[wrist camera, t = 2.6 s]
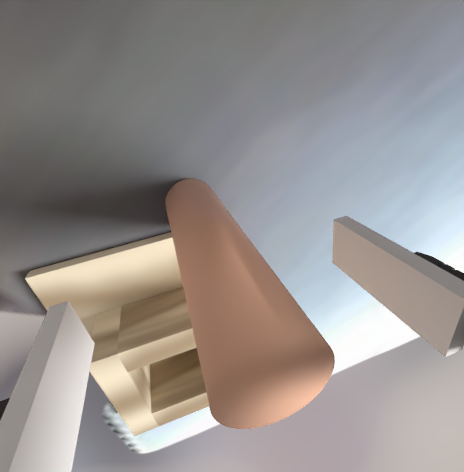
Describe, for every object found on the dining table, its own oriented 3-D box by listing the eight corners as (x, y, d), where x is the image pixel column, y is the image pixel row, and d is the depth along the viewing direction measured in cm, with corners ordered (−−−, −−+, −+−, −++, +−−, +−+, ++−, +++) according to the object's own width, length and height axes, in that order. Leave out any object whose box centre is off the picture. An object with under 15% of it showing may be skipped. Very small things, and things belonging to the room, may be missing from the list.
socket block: (29, 270, 20) (-8, 329, 15) (230, 215, 23) (255, 249, 18) (123, 410, 30) (120, 474, 25) (255, 360, 33) (276, 408, 28)
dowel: (158, 185, 20) (195, 370, 7) (209, 173, 21) (337, 316, 7) (173, 231, 22) (223, 445, 9) (219, 218, 23) (332, 397, 9)
